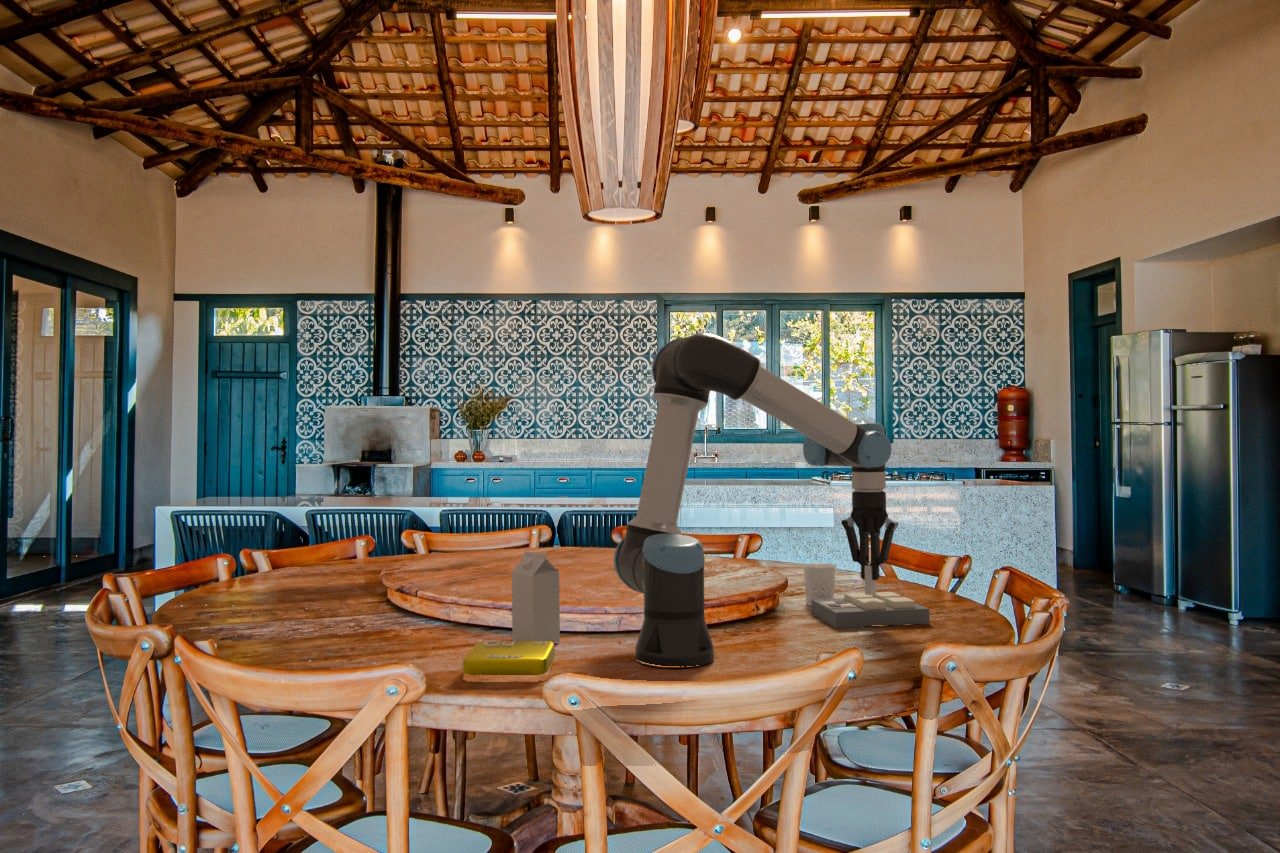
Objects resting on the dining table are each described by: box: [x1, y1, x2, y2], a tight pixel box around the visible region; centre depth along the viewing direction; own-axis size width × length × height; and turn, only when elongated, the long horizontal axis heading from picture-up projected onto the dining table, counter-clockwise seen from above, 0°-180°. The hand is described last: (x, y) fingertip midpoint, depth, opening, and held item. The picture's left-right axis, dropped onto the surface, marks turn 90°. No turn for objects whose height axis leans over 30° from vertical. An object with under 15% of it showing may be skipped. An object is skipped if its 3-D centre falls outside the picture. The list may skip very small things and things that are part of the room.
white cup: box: [803, 562, 836, 607], centre depth 224 cm, size 8×8×10 cm
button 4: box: [885, 596, 916, 609], centre depth 203 cm, size 5×5×2 cm
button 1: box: [844, 592, 873, 604], centre depth 209 cm, size 5×5×2 cm
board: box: [811, 597, 930, 629], centre depth 206 cm, size 22×16×4 cm
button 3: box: [871, 591, 902, 602], centre depth 210 cm, size 5×5×2 cm
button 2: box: [856, 598, 885, 610], centre depth 202 cm, size 5×5×2 cm
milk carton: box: [511, 550, 561, 643], centre depth 185 cm, size 7×7×19 cm
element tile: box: [462, 639, 555, 675], centre depth 163 cm, size 15×15×5 cm
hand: (870, 593), depth 202 cm, fingers closed
